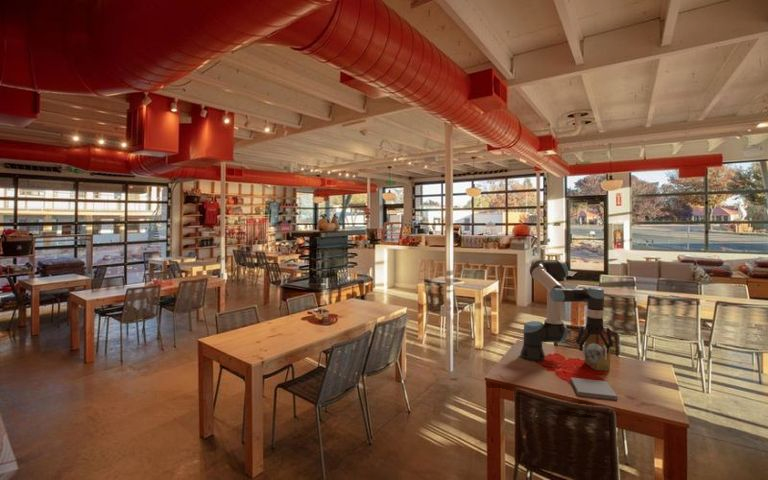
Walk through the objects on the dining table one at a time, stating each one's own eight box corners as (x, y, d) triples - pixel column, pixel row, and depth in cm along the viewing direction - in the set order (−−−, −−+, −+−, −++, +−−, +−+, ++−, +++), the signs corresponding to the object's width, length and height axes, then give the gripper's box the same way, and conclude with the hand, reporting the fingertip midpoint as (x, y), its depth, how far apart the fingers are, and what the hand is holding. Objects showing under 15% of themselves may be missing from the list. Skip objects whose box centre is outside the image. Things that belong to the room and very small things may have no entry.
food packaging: (610, 370, 225) (612, 330, 223) (595, 370, 225) (596, 330, 224) (598, 362, 238) (599, 323, 237) (583, 362, 238) (584, 323, 237)
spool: (605, 360, 189) (596, 341, 193) (585, 365, 194) (577, 346, 198) (610, 359, 199) (601, 341, 203) (591, 364, 204) (584, 345, 208)
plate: (578, 395, 194) (578, 391, 194) (570, 380, 211) (570, 377, 211) (617, 399, 189) (617, 396, 189) (606, 384, 206) (606, 381, 206)
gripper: (573, 317, 197) (572, 358, 198) (621, 320, 191) (619, 362, 192) (570, 313, 204) (569, 353, 206) (616, 316, 198) (615, 357, 200)
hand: (593, 357), depth 199 cm, fingers closed on spool, 10 cm apart
